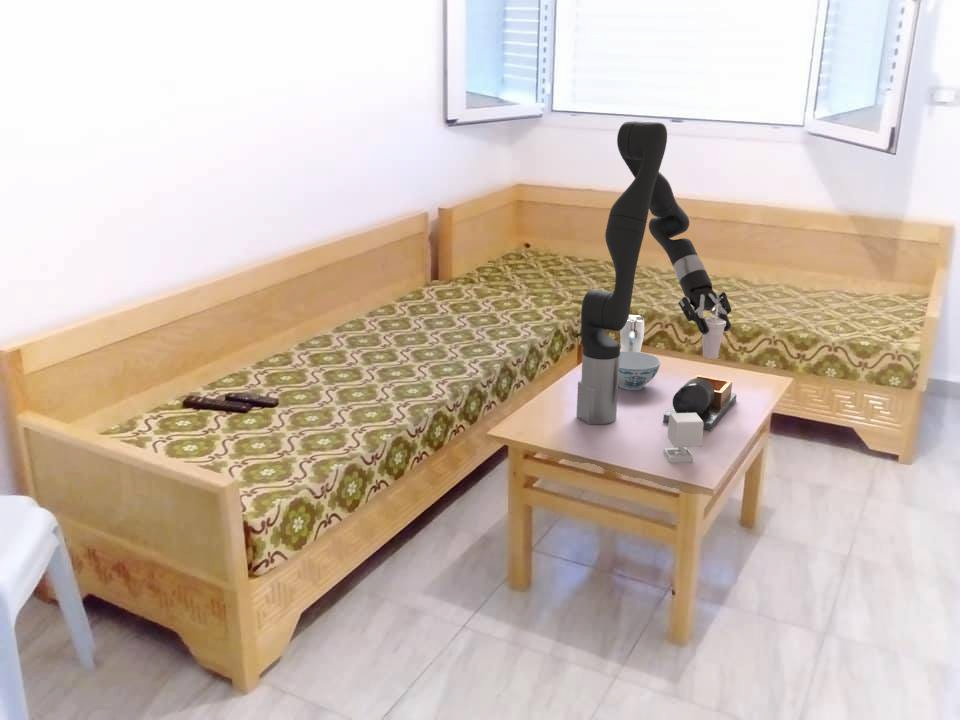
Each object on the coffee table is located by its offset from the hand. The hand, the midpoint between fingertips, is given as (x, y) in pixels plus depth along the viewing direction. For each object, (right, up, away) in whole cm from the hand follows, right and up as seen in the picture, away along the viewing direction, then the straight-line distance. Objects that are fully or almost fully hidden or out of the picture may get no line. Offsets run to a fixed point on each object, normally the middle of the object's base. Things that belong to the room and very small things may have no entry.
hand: (717, 331), depth 231 cm
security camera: (-14, -30, -23) cm, 40 cm away
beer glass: (-16, -10, +37) cm, 41 cm away
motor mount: (-3, -21, +4) cm, 21 cm away
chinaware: (-18, -15, +21) cm, 32 cm away
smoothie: (-1, -7, +4) cm, 8 cm away
